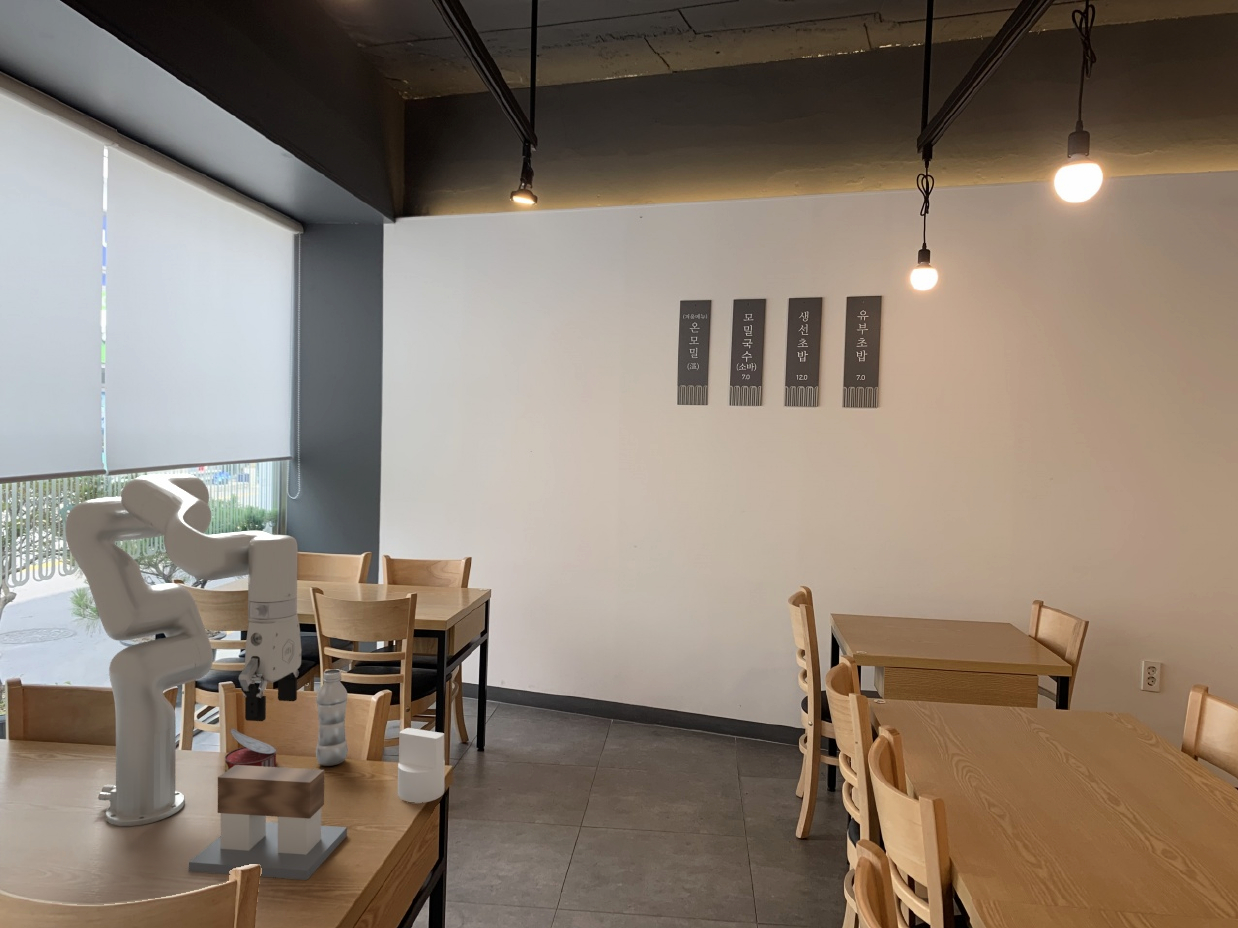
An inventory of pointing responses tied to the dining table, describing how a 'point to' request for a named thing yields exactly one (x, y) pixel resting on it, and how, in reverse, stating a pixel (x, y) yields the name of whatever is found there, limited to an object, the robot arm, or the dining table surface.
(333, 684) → the plastic bottle
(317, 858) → the board
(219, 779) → the beam
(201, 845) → the dining table surface
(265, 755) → the canned food
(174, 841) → the dining table surface
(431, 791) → the cylinder with rectangular tab
